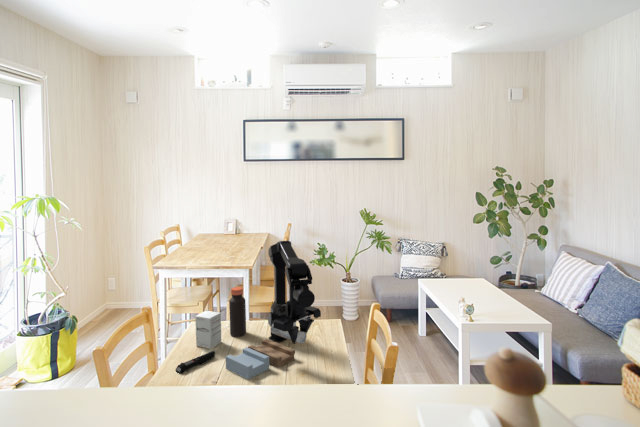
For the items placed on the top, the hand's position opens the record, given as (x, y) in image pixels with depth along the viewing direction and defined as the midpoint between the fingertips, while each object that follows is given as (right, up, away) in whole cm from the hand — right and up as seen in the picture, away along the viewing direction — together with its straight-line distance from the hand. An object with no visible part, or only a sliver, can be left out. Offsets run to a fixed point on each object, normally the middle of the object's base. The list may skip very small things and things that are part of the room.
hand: (298, 341), depth 142 cm
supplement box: (-37, -8, +22) cm, 44 cm away
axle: (-4, 0, +3) cm, 5 cm away
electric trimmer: (-37, -10, +4) cm, 39 cm away
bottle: (-27, -7, +32) cm, 43 cm away
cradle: (-18, -10, +1) cm, 21 cm away
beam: (-11, -9, +10) cm, 17 cm away
